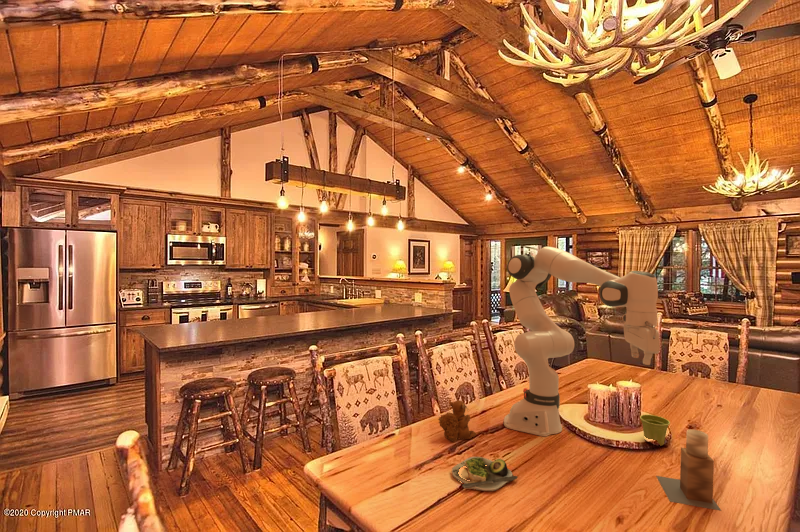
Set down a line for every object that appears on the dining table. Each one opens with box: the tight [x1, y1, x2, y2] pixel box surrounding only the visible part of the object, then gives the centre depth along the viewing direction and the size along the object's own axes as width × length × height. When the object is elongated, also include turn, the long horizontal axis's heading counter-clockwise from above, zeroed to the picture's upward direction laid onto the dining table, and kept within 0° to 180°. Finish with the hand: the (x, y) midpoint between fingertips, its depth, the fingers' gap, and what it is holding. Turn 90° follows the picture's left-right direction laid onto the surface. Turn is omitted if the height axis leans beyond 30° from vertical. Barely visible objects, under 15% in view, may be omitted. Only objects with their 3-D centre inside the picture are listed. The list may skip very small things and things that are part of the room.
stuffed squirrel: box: [437, 400, 477, 442], centre depth 151 cm, size 10×14×13 cm
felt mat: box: [655, 475, 722, 512], centre depth 116 cm, size 12×14×1 cm
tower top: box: [680, 447, 715, 483], centre depth 115 cm, size 6×6×6 cm
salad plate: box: [451, 456, 519, 492], centre depth 123 cm, size 19×18×5 cm
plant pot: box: [639, 414, 671, 447], centre depth 148 cm, size 9×9×9 cm
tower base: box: [679, 468, 714, 503], centre depth 115 cm, size 6×6×6 cm
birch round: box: [685, 428, 709, 458], centre depth 114 cm, size 5×5×6 cm
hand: (640, 360), depth 134 cm, fingers open, 8 cm apart
